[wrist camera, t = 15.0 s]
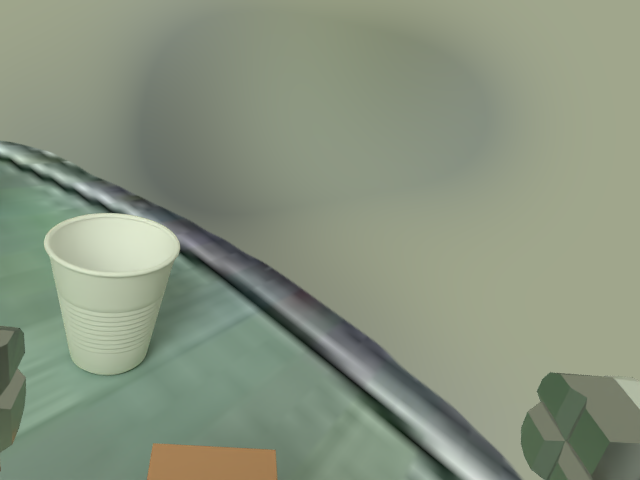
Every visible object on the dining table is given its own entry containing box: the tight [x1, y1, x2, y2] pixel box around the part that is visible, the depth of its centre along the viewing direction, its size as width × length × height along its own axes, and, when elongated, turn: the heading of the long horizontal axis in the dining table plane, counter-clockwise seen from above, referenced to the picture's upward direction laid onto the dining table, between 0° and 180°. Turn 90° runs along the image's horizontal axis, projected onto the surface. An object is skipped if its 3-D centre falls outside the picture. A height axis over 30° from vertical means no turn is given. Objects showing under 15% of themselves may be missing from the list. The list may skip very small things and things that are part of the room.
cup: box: [44, 213, 180, 375], centre depth 48 cm, size 10×10×11 cm
